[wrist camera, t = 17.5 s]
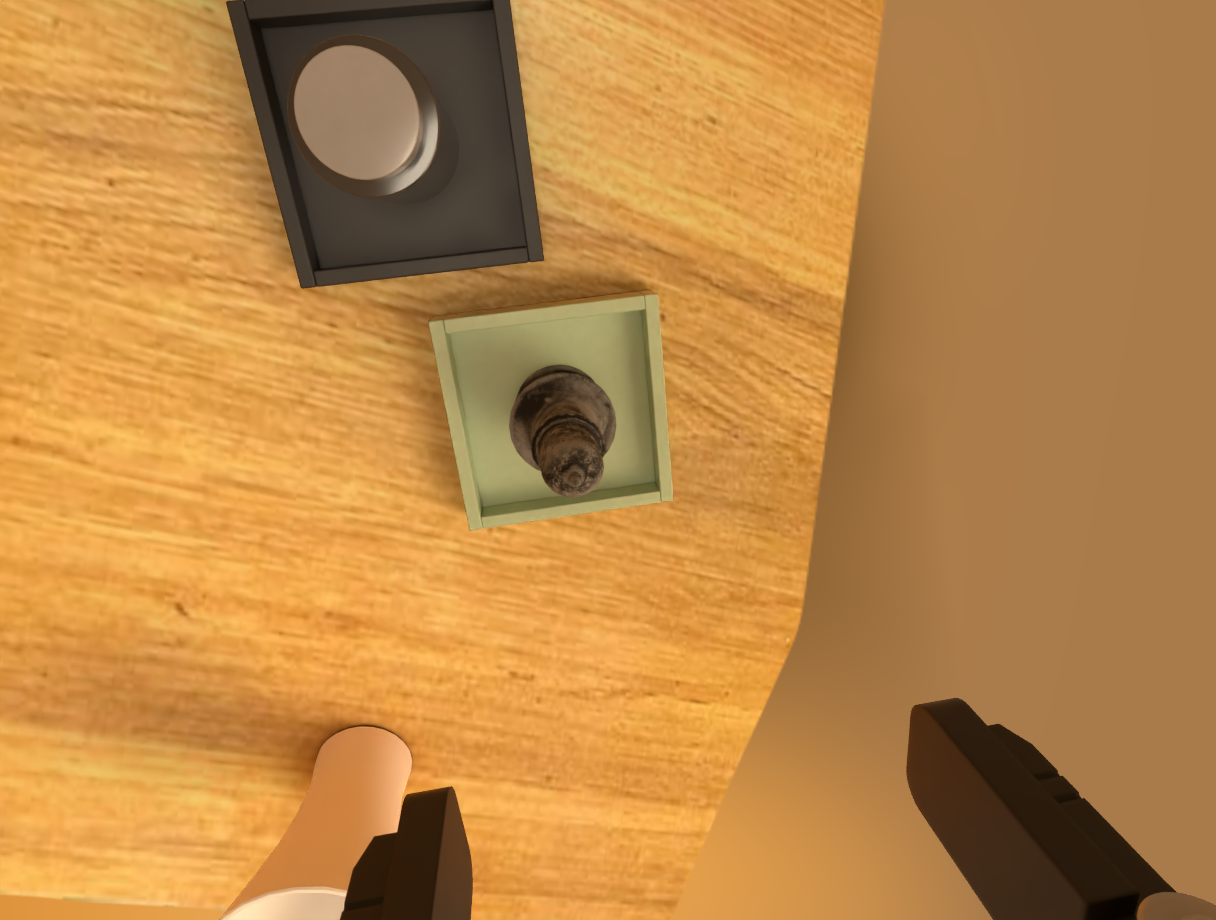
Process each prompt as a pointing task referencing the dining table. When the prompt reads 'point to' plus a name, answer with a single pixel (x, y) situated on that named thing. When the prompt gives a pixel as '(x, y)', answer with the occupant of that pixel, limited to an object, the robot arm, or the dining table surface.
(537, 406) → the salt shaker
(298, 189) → the dark tray
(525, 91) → the dining table surface
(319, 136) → the brown jar with lid
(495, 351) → the light tray
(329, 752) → the cup
